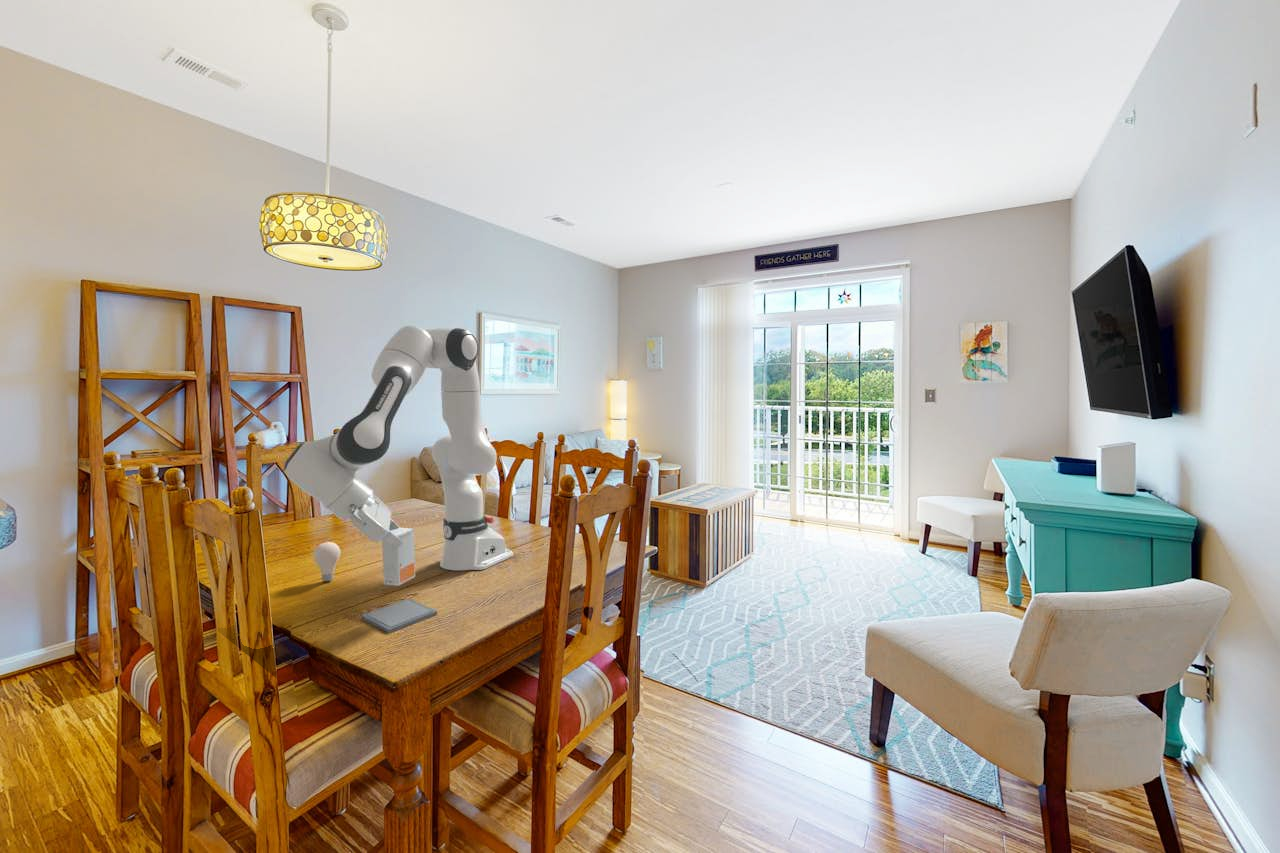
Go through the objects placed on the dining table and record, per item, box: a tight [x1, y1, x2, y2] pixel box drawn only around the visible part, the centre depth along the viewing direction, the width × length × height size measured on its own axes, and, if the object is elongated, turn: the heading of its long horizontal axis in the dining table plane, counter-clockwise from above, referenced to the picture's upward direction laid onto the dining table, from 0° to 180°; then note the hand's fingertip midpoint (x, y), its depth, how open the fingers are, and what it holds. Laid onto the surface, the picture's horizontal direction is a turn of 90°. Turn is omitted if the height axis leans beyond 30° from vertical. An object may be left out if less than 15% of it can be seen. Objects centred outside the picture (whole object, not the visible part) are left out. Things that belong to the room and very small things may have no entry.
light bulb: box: [312, 541, 342, 582], centre depth 144 cm, size 7×7×11 cm
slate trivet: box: [360, 598, 438, 634], centre depth 124 cm, size 12×12×1 cm
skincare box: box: [381, 527, 416, 587], centre depth 123 cm, size 6×4×12 cm
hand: (401, 539), depth 123 cm, fingers closed on skincare box, 7 cm apart
